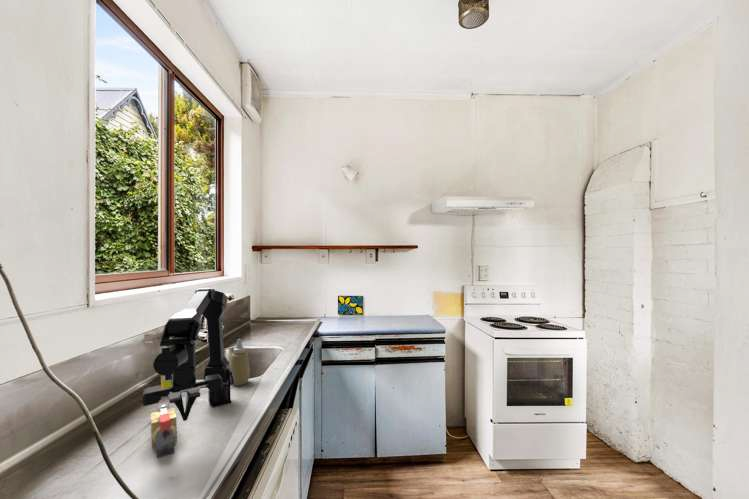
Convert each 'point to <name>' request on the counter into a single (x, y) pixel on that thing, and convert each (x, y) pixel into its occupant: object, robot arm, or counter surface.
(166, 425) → the valve lever
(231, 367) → the squeeze bottle
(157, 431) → the valve body
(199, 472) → the counter surface
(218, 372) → the robot arm
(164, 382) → the supplement bottle
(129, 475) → the counter surface
